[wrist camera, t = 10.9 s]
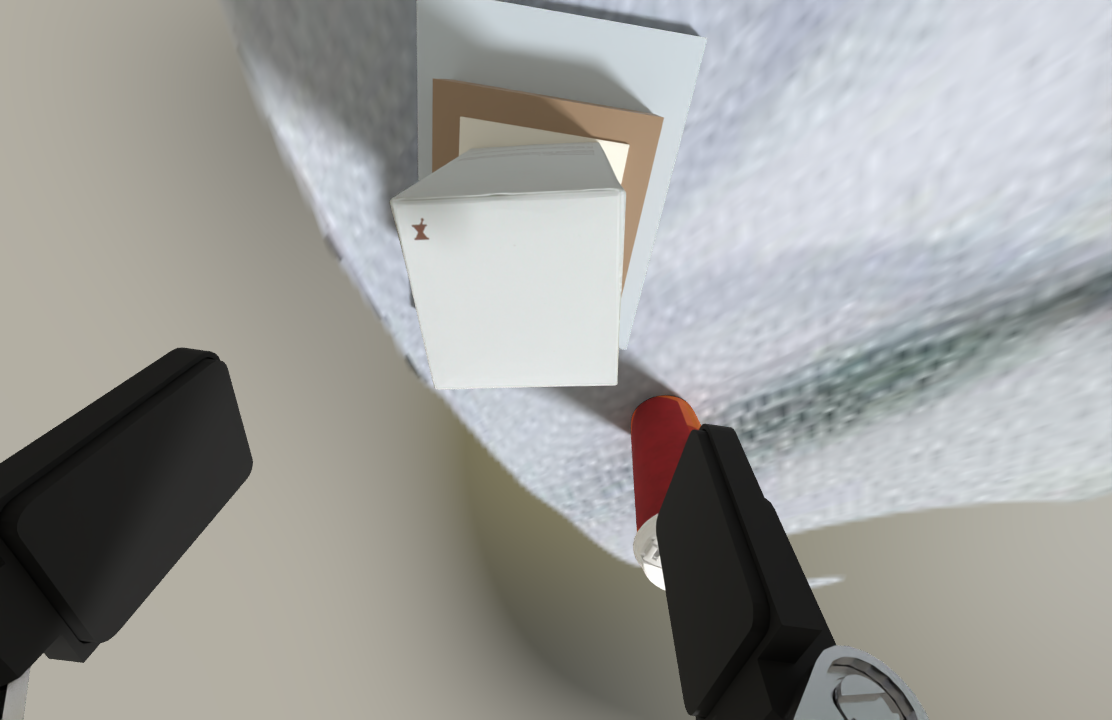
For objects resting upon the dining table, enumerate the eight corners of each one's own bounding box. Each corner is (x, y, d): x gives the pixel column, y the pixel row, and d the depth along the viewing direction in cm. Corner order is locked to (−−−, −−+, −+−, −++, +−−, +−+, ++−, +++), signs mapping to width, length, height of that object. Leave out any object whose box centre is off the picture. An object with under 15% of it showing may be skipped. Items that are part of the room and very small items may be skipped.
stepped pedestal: (421, -11, 25) (388, -31, 21) (703, 39, 26) (729, 30, 22) (423, 313, 36) (400, 346, 31) (625, 343, 36) (631, 379, 32)
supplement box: (484, 276, 28) (426, 394, 18) (467, 145, 25) (380, 192, 14) (604, 273, 28) (619, 392, 17) (605, 139, 24) (628, 183, 13)
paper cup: (606, 442, 42) (617, 586, 30) (637, 374, 38) (665, 509, 26) (686, 462, 42) (728, 611, 30) (724, 398, 39) (790, 539, 27)
